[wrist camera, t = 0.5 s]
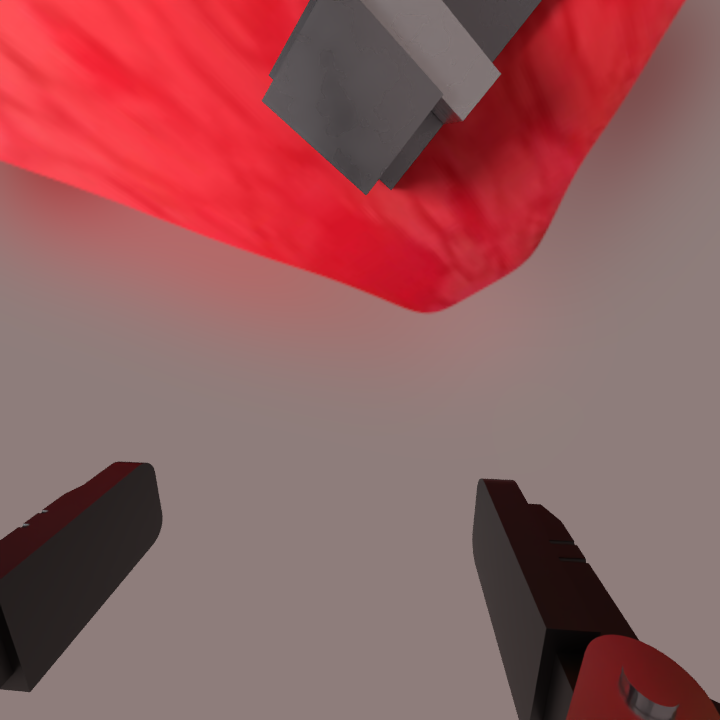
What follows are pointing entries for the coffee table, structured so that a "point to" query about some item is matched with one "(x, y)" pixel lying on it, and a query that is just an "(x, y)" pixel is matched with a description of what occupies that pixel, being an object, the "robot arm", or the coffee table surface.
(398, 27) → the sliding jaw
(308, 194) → the coffee table surface
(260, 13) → the coffee table surface
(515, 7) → the vise
